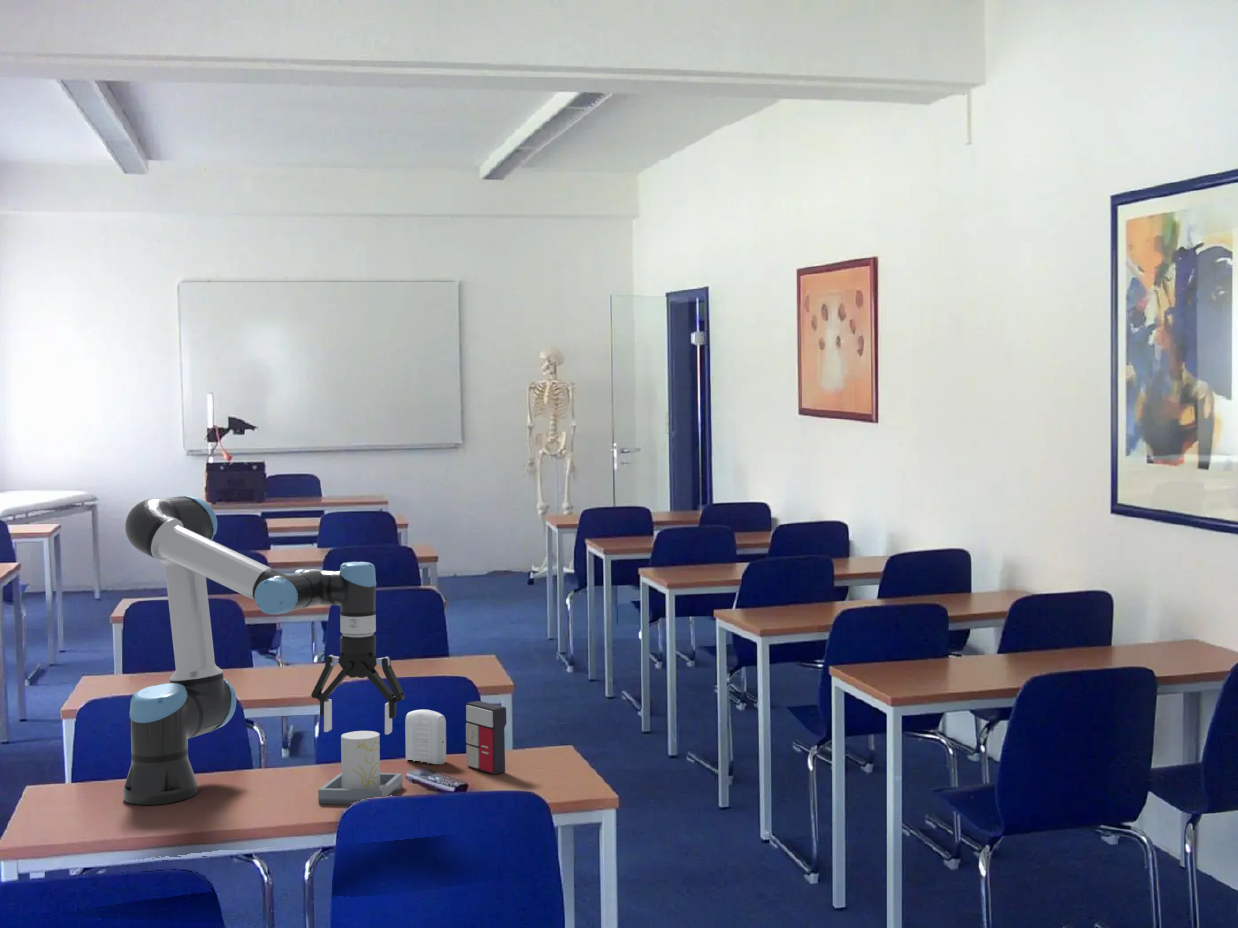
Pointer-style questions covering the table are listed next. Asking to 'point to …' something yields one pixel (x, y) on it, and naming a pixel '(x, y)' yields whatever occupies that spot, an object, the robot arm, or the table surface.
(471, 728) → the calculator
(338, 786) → the tray
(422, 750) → the white rounded block
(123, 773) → the table surface
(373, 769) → the cup
